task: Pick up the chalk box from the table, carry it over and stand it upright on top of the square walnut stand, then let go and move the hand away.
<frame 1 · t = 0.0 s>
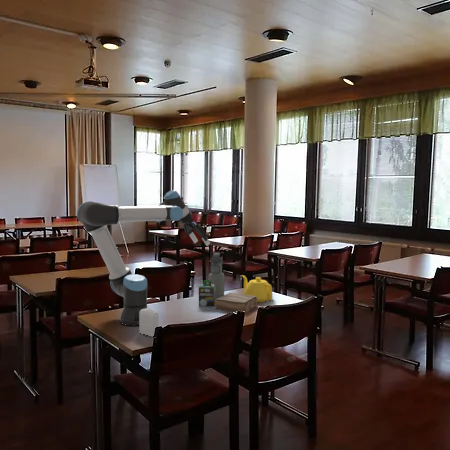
hand: (202, 243, 269), 36 cm above the table, tool tilted 35°, fingers open, 13 cm apart
teapot: (256, 299, 285), on the table
walnut stand: (236, 307, 263), on the table
chalk box: (207, 305, 270), on the table
water bottle: (216, 298, 286), on the table
photo printer: (148, 335, 214), on the table
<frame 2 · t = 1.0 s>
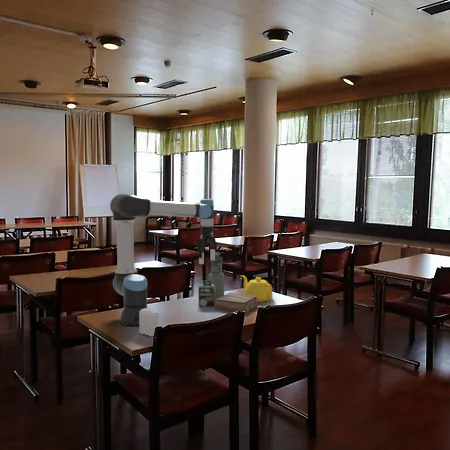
hand: (207, 262, 267), 25 cm above the table, tool pointing down, fingers open, 13 cm apart
nothing on the table moved.
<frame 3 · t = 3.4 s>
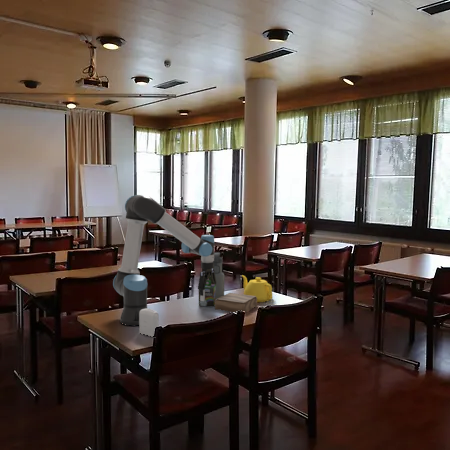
hand: (207, 298, 269), 4 cm above the table, tool pointing down, fingers closed on chalk box, 11 cm apart
chalk box: (207, 304, 270), on the table, touching gripper
everything else where it was.
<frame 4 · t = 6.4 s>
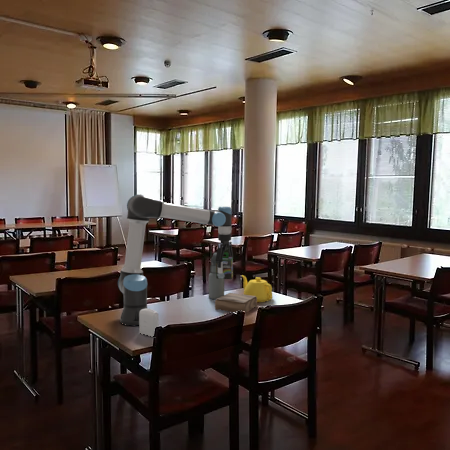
hand: (224, 271, 264), 20 cm above the table, tool pointing down, fingers closed on chalk box, 11 cm apart
chalk box: (224, 277, 265), point 17 cm above the table, touching gripper
everything else where it was.
when the fingers open (11 cm above the table, at t = 9.6 s): chalk box drops 1 cm, resting on walnut stand.
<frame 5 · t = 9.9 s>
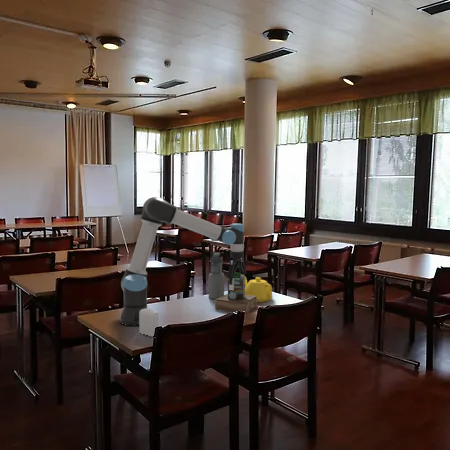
hand: (236, 287, 262), 12 cm above the table, tool pointing down, fingers open, 13 cm apart
chalk box: (236, 298, 263), point 6 cm above the table, touching walnut stand
everything else where it was.
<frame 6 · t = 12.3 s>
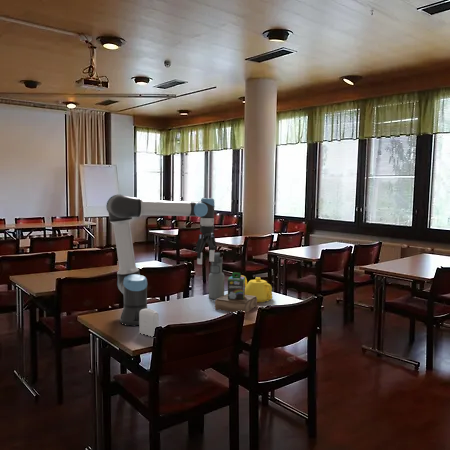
hand: (205, 262, 260), 26 cm above the table, tool pointing down, fingers open, 13 cm apart
nothing on the table moved.
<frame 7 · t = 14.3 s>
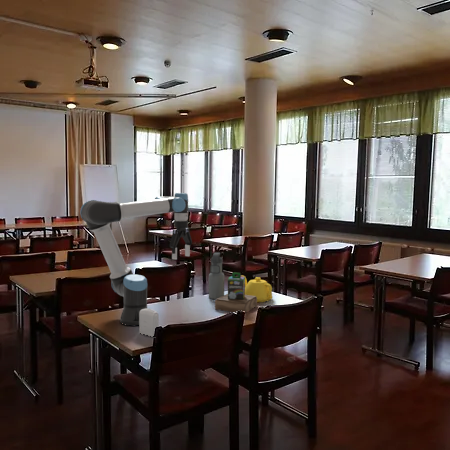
hand: (181, 257, 260), 29 cm above the table, tool pointing down, fingers open, 13 cm apart
nothing on the table moved.
at the end: chalk box inside the target area on the walnut stand (0.2 cm from its centre), point 5.8 cm above the walnut stand's base; chalk box tilted 0°; the gripper is holding nothing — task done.
